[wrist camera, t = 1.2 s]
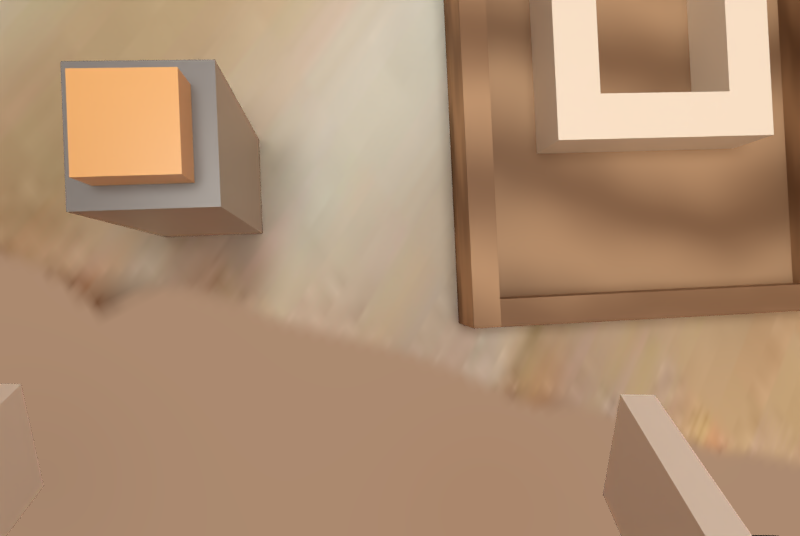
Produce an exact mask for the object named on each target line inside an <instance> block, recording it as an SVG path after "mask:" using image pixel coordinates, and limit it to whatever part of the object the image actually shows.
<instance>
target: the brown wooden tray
mask: <svg viewBox="0 0 800 536" xmlns="http://www.w3.org/2000/svg"><path fill="white" fill-rule="evenodd" d="M596 13H597V33H598V52H599V72H600V92H601V93H660V92H692V91H691V72H690V53H689V34H688V15H687V0H596ZM444 14H445V36H446V57H447V78H448V100H449V121H450V142H451V164H452V185H453V206H454V228H455V249H456V270H457V292H458V313H459V323H460V324H463V325H466V326H469V327H472V328H489V327H507V326H526V325H544V324H563V323H581V322H600V321H618V320H637V319H655V318H674V317H692V316H711V315H729V314H748V313H766V312H785V311H800V0H767V18H768V36H769V55H770V73H771V91H772V109H773V128H774V135H772V136H769V137H766V138H763V139H760V140H757V141H754V142H751V143H748V144H745V145H742V146H739V147H736V148H733V149H697V150H659V151H621V152H583V153H546V154H537V144H536V123H535V103H534V82H533V62H532V41H531V21H530V1H529V0H444Z"/></svg>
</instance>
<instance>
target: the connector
mask: <svg viewBox="0 0 800 536" xmlns="http://www.w3.org/2000/svg"><path fill="white" fill-rule="evenodd" d="M61 86H62V112H63V139H64V166H65V192H66V212H69V213H73V214H77V215H81V216H85V217H89V218H93V219H97V220H101V221H105V222H108V223H112V224H116V225H120V226H124V227H128V228H132V229H136V230H140V231H144V232H148V233H152V234H156V235H160V236H164V237H176V236H203V235H229V234H256V233H263V229H262V205H261V182H260V158H259V139H258V137H257V135H256V133H255V131H254V130H253V128H252V126H251V124H250V122H249V121H248V119H247V117H246V115H245V113H244V112H243V110H242V108H241V106H240V104H239V102H238V101H237V99H236V97H235V95H234V93H233V92H232V90H231V88H230V86H229V84H228V83H227V81H226V79H225V77H224V75H223V74H222V72H221V70H220V68H219V66H218V64H217V63H216V61H215V60H138V61H61Z"/></svg>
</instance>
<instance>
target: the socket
mask: <svg viewBox="0 0 800 536" xmlns="http://www.w3.org/2000/svg"><path fill="white" fill-rule="evenodd" d="M529 1H530V21H531V41H532V62H533V82H534V103H535V123H536V144H537V154H546V153H583V152H621V151H659V150H697V149H733V148H736V147H739V146H742V145H745V144H748V143H751V142H754V141H757V140H760V139H763V138H766V137H769V136H772V135H774V128H773V109H772V91H771V73H770V55H769V36H768V18H767V0H687V15H688V34H689V53H690V72H691V91H692V92H660V93H601V92H600V72H599V52H598V33H597V13H596V0H529Z"/></svg>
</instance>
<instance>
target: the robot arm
mask: <svg viewBox="0 0 800 536" xmlns="http://www.w3.org/2000/svg"><path fill="white" fill-rule="evenodd" d="M43 486H44V485H43V480H42V476H41V471H40V466H39V462H38V457H37V453H36V448H35V444H34V439H33V435H32V430H31V426H30V421H29V417H28V412H27V408H26V404H25V398H24V394H23V389H22V385H21V384H0V536H7V534H8V533H9V532H10V531H11V529H12V528H13V527H14V525H15V524H16V523H17V521H18V520H19V518H20V517H21V516H22V515H23V513H24V512H25V511H26V509H27V508H28V506H29V505H30V504H31V502H32V501H33V500H34V499H35V497H36V496H37V495H38V493H39V492H40V491H41V489H42V488H43ZM603 496H604V498H605V500H606V503H607V505H608V507H609V509H610V512H611V514H612V516H613V518H614V521H615V523H616V525H617V528H618V530H619V532H620V535H621V536H770V535H751V533H750V532H749V530H748V529H747V528H746V526H745V525H744V523H743V522H742V520H741V519H740V517H739V516H738V515H737V513H736V512H735V510H734V509H733V507H732V506H731V504H730V503H729V502H728V500H727V499H726V497H725V496H724V494H723V493H722V491H721V490H720V489H719V487H718V486H717V484H716V483H715V481H714V480H713V478H712V477H711V475H710V474H709V473H708V472H707V470H706V468H705V467H704V465H703V464H702V462H701V461H700V460H699V458H698V457H697V455H696V454H695V452H694V451H693V449H692V448H691V447H690V445H689V444H688V442H687V441H686V439H685V438H684V436H683V435H682V433H681V432H680V431H679V429H678V428H677V426H676V425H675V423H674V422H673V420H672V419H671V418H670V416H669V415H668V413H667V412H666V410H665V409H664V407H663V406H662V405H661V403H660V402H659V400H658V399H657V397H656V396H655V395H631V394H620V400H619V405H618V411H617V417H616V423H615V428H614V435H613V440H612V445H611V451H610V457H609V463H608V468H607V474H606V480H605V486H604V491H603ZM773 536H774V535H773Z"/></svg>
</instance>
